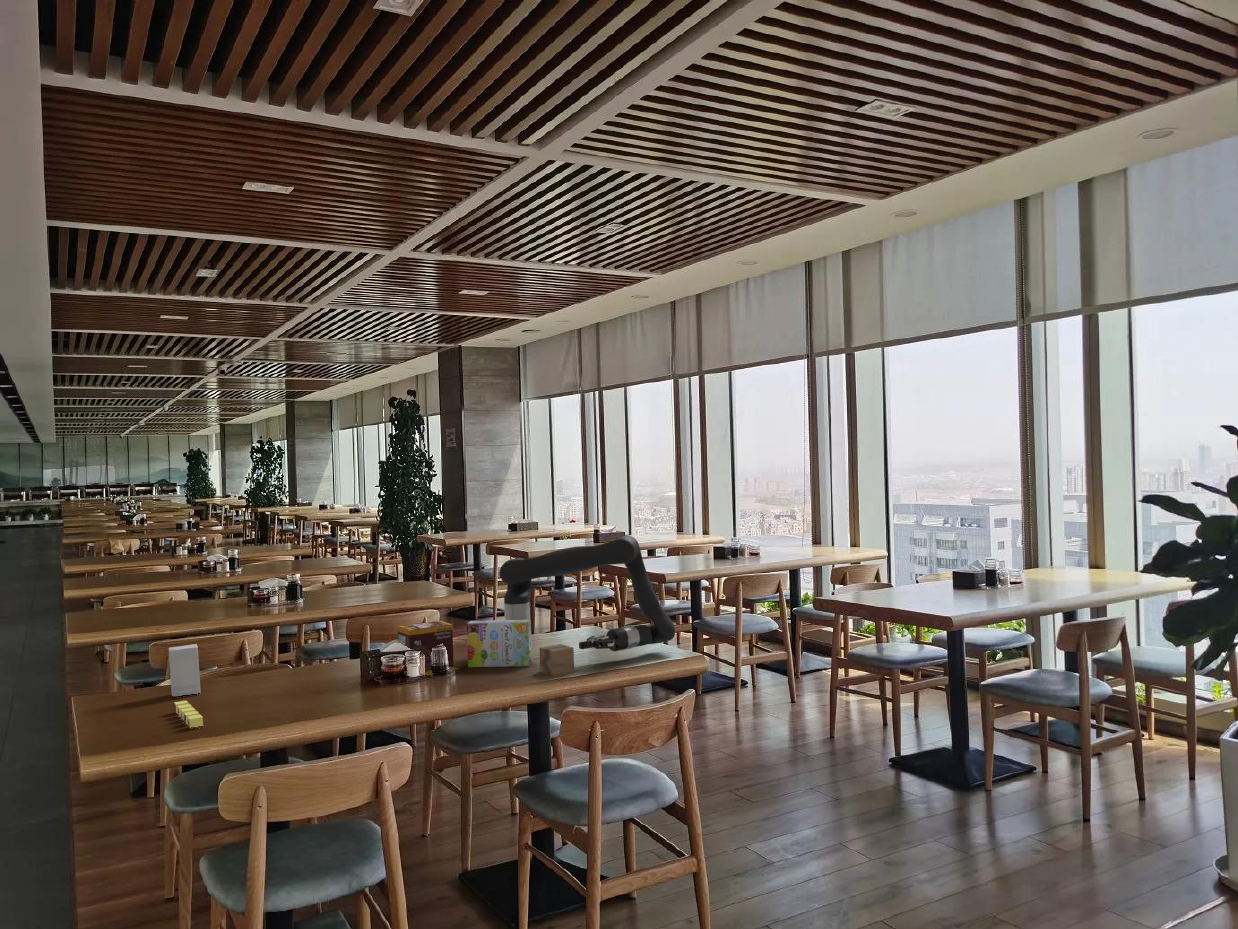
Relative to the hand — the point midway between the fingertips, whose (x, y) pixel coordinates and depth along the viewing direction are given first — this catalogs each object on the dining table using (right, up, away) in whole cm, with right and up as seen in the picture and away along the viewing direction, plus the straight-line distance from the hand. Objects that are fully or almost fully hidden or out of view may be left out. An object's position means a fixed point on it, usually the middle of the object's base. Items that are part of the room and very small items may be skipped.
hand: (580, 645), depth 304 cm
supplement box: (-51, -9, +1) cm, 51 cm away
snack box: (-27, -8, +8) cm, 30 cm away
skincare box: (-120, -11, -20) cm, 122 cm away
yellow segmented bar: (-107, -11, -51) cm, 119 cm away
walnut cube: (-7, -8, -5) cm, 12 cm away
